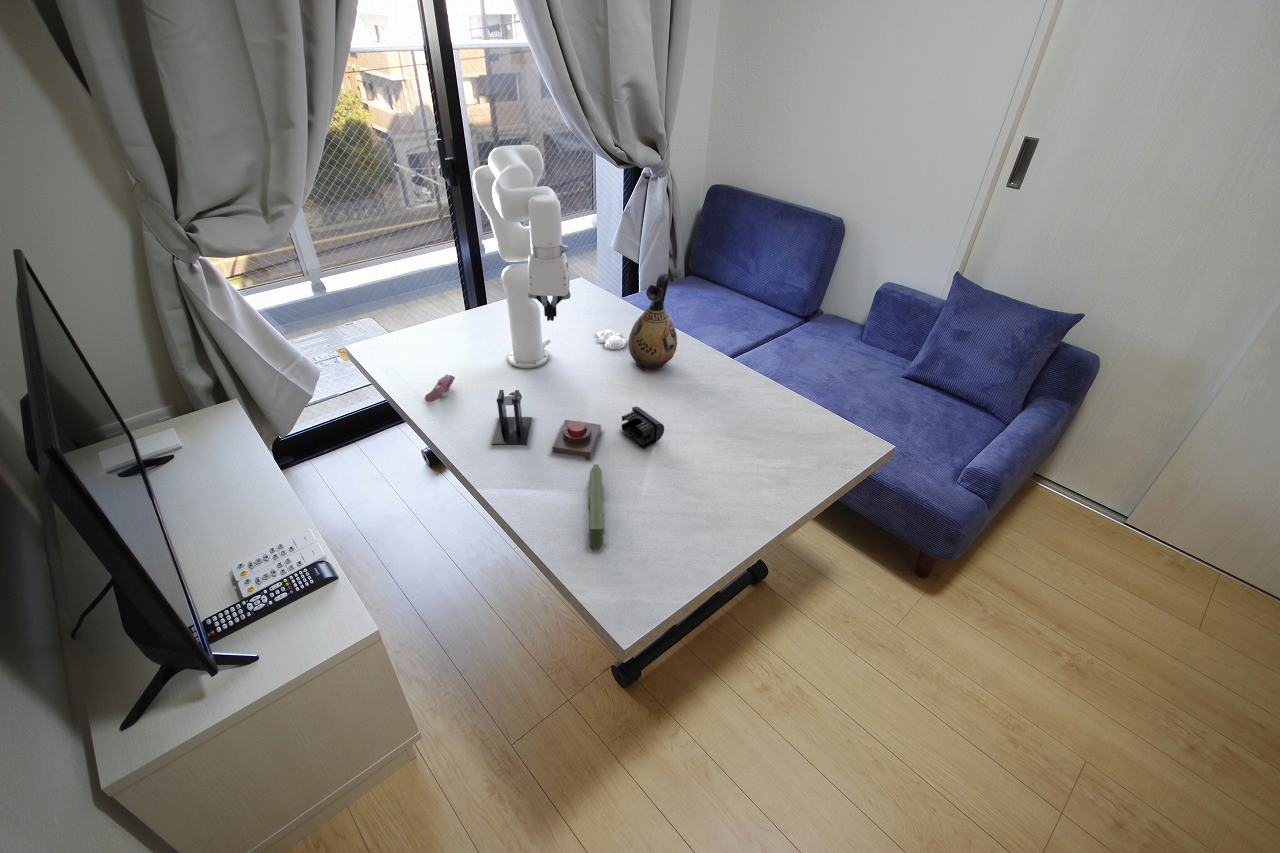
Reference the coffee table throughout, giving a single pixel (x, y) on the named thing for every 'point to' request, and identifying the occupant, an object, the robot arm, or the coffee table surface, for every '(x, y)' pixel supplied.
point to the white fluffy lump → (611, 339)
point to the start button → (576, 428)
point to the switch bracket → (511, 423)
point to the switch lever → (510, 398)
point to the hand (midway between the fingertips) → (550, 318)
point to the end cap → (642, 428)
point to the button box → (577, 440)
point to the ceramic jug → (653, 331)
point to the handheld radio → (595, 509)
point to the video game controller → (440, 388)
